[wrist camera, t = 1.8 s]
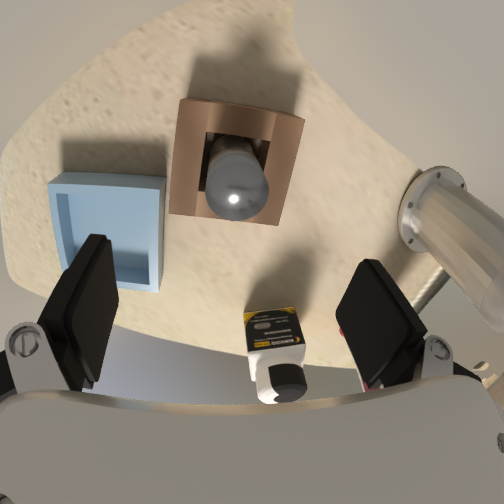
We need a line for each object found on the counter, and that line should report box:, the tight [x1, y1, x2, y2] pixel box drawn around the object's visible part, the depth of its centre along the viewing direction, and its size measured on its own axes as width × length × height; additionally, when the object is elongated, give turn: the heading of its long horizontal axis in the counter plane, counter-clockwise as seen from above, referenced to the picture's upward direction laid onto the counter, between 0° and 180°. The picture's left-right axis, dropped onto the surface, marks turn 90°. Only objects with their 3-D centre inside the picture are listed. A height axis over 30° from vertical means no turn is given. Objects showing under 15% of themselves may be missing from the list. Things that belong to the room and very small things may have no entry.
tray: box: [47, 172, 167, 293], centre depth 26 cm, size 12×12×4 cm
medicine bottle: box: [243, 307, 307, 404], centre depth 34 cm, size 7×7×12 cm
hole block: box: [169, 98, 305, 226], centre depth 24 cm, size 10×10×4 cm
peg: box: [205, 135, 269, 221], centre depth 21 cm, size 4×4×10 cm
